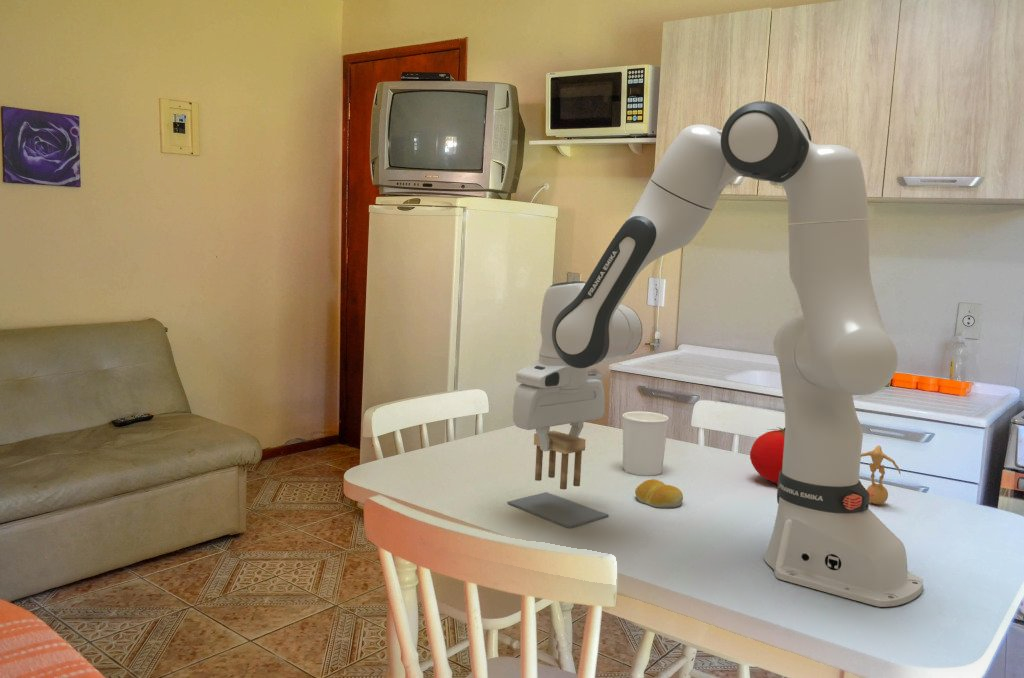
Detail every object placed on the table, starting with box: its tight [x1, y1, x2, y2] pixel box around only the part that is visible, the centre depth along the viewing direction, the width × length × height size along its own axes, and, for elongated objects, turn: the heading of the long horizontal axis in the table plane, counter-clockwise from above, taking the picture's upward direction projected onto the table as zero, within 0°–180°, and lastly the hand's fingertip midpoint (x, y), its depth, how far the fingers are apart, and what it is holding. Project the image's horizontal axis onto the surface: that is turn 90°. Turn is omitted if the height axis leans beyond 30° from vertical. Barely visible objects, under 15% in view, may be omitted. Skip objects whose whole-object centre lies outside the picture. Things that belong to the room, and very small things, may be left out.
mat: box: [507, 491, 610, 529], centre depth 149 cm, size 16×10×1 cm, turn 42°
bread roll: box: [634, 478, 684, 509], centre depth 156 cm, size 8×9×4 cm
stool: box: [533, 430, 586, 490], centre depth 148 cm, size 5×8×8 cm, turn 42°
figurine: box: [861, 445, 901, 506], centre depth 158 cm, size 8×6×12 cm
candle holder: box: [622, 410, 670, 477], centre depth 177 cm, size 10×10×12 cm
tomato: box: [749, 426, 785, 484], centre depth 172 cm, size 12×14×11 cm
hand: (558, 447), depth 147 cm, fingers closed on stool, 5 cm apart
